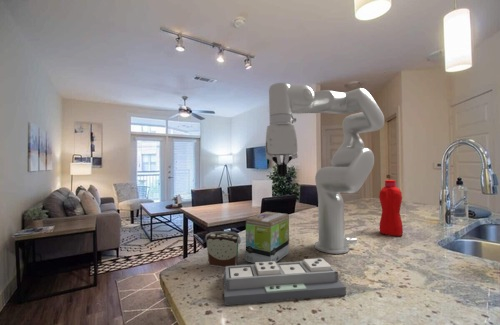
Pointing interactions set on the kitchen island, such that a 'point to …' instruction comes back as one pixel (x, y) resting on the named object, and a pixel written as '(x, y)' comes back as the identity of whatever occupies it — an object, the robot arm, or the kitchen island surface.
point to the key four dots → (267, 268)
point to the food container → (222, 248)
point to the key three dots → (317, 265)
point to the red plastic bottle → (391, 209)
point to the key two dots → (240, 272)
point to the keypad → (280, 285)
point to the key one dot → (292, 269)
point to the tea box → (267, 237)
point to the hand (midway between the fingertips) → (282, 176)
